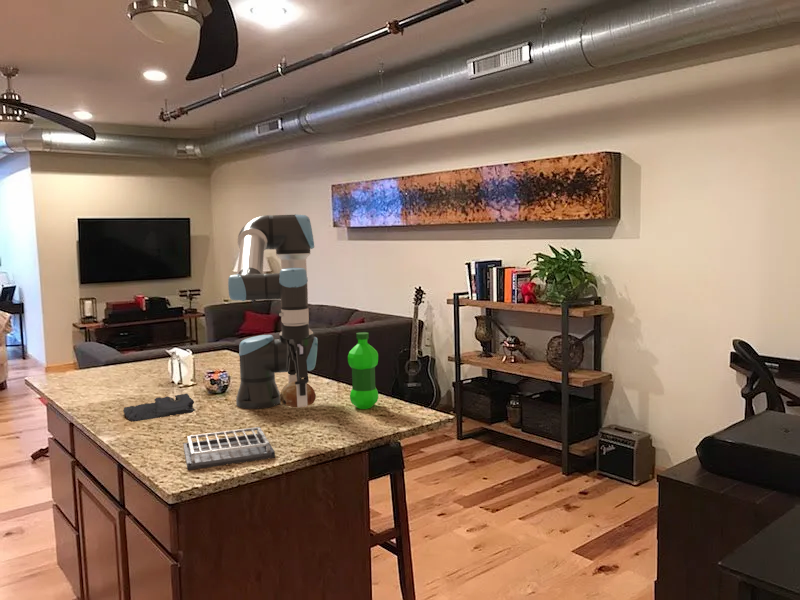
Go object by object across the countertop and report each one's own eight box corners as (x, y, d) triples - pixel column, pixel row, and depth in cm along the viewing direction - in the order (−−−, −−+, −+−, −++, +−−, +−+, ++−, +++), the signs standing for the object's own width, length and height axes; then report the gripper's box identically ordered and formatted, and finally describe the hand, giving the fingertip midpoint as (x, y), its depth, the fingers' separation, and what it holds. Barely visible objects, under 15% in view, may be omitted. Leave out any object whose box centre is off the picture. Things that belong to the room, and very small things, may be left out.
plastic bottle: (379, 402, 230) (377, 330, 227) (379, 410, 219) (377, 335, 217) (350, 403, 229) (348, 331, 227) (348, 411, 219) (346, 336, 216)
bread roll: (278, 414, 190) (267, 391, 187) (303, 392, 196) (293, 370, 193) (300, 420, 183) (289, 397, 180) (325, 398, 190) (315, 375, 186)
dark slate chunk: (120, 413, 224) (119, 399, 224) (186, 403, 236) (185, 390, 236) (129, 424, 211) (128, 409, 211) (199, 412, 223) (198, 398, 223)
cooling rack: (183, 448, 185) (182, 435, 184) (263, 438, 193) (263, 425, 192) (187, 470, 168) (186, 455, 168) (275, 457, 176) (274, 443, 176)
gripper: (274, 319, 195) (277, 393, 198) (290, 330, 174) (293, 413, 177) (299, 317, 198) (302, 390, 200) (318, 328, 176) (321, 410, 179)
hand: (298, 401), depth 188 cm, fingers closed on bread roll, 10 cm apart
